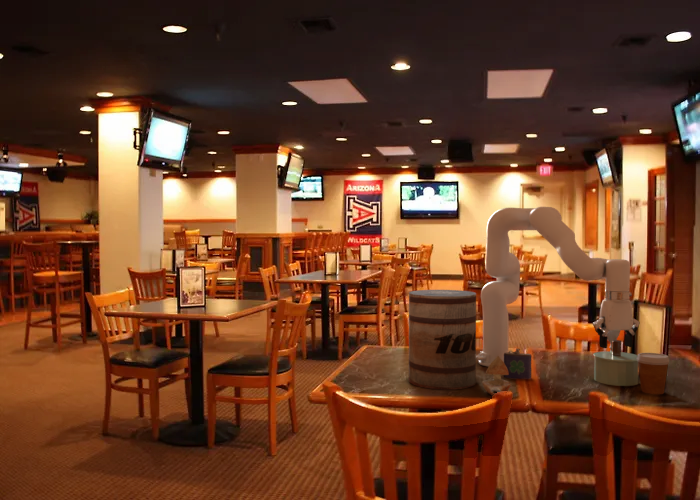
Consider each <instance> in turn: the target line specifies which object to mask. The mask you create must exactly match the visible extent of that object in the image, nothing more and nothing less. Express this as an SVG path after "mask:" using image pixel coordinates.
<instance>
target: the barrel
mask: <svg viewBox="0 0 700 500" xmlns="http://www.w3.org/2000/svg"><path fill="white" fill-rule="evenodd" d="M476 355H477V293H476V292H474V291H469V290H460V289H419V290H418V289H417V290H412V291H409V292H408V382H409V383H410V384H412V385H413V386H416V387H420V388H425V389H432V390H462V389H467V388H471V387H473V386H475V385H476V383H477V382H476V380H477V378H476V377H477V376H476V374H477V365H476V364H477V359H476Z"/></svg>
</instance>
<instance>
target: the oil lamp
mask: <svg viewBox="0 0 700 500" xmlns="http://www.w3.org/2000/svg"><path fill="white" fill-rule="evenodd" d="M485 374H486V375H491V376H493V377H492V379H484V380H483V381H482V387H483V389H484V390H485V392H486V393H487V394H489V395H491V396H492V397H493V395H494V394H495V393H497V392H500V391H507V392H508V391H509V390H510V388H511V385H512V383H511V381H509V380H505V379H502V376H504V375H509V373H508V369H507V367H506V365H505V364H504V362H503V361H502V360H501V358H500V357H499V356H497V357H496V358H495V359H494V360H493V361H492V363H491V364H490V365H489V367H488V366H487V369H486V372H485Z"/></svg>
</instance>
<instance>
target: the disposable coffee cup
mask: <svg viewBox="0 0 700 500" xmlns="http://www.w3.org/2000/svg"><path fill="white" fill-rule="evenodd" d="M637 355H638V357H637V358H636V359H637V361H638V367H639V383H640V390H641V392H642V393H645V394H648V395H649V394H650V395H664V393H665V387H666V383H667V382H666V381H667V374H668V368H669V365H670V363H671V359H670V358H669V356H668V355H667V354H663V353H658V352H640V353H638V354H637Z"/></svg>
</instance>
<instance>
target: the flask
mask: <svg viewBox="0 0 700 500" xmlns="http://www.w3.org/2000/svg"><path fill="white" fill-rule="evenodd" d="M520 350H521V348H515V351H512V352H511V350H508V352H506V353H504V364H505V365H506V367H507V369H508V373H509V375H503V378H504V379H511V380H512V379H514V380H531V379H532V354H531V353H522V352H521V351H520Z"/></svg>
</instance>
